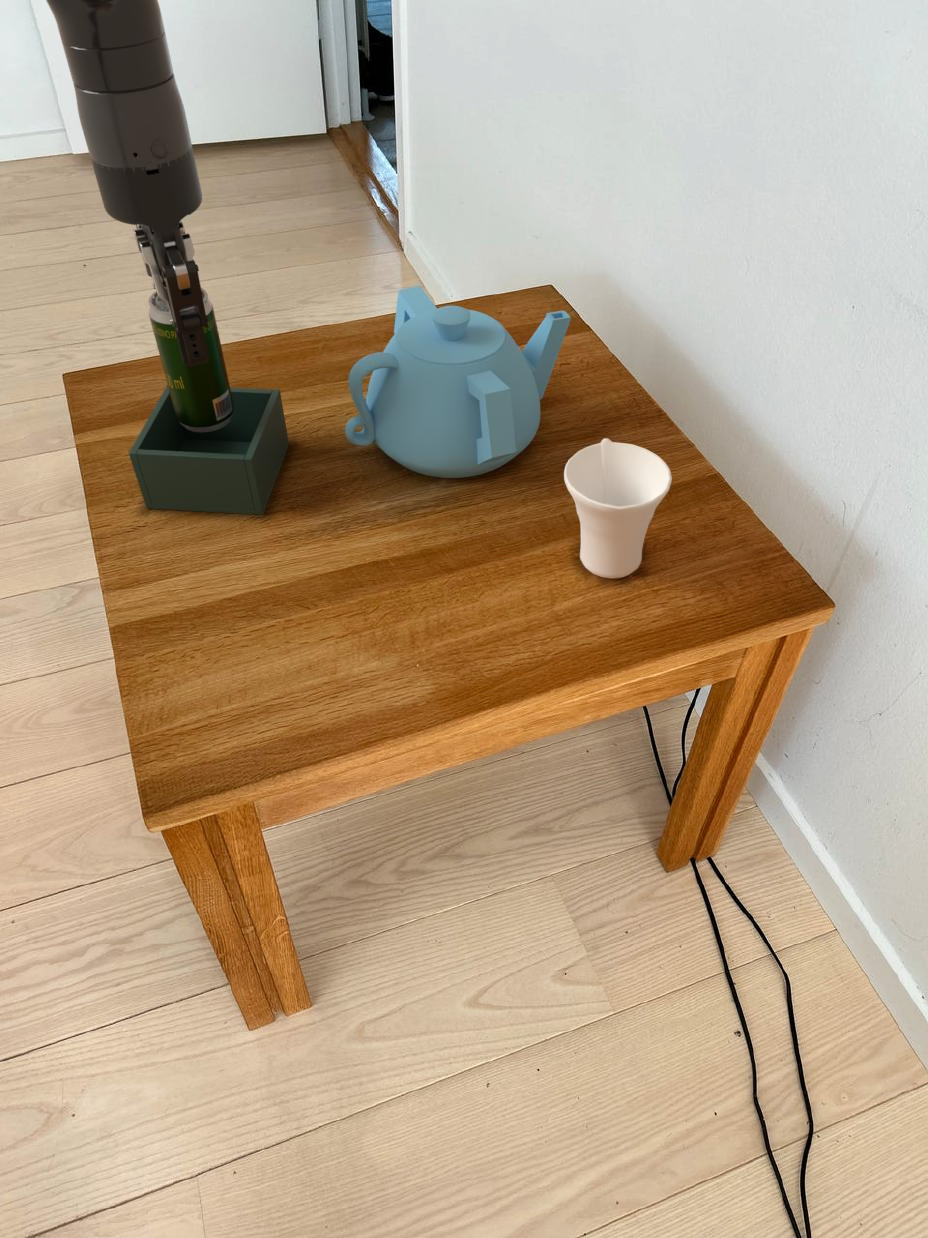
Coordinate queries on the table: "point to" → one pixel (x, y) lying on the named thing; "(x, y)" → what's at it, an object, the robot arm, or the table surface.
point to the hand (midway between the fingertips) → (188, 346)
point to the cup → (615, 503)
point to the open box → (213, 457)
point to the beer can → (193, 371)
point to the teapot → (453, 388)
